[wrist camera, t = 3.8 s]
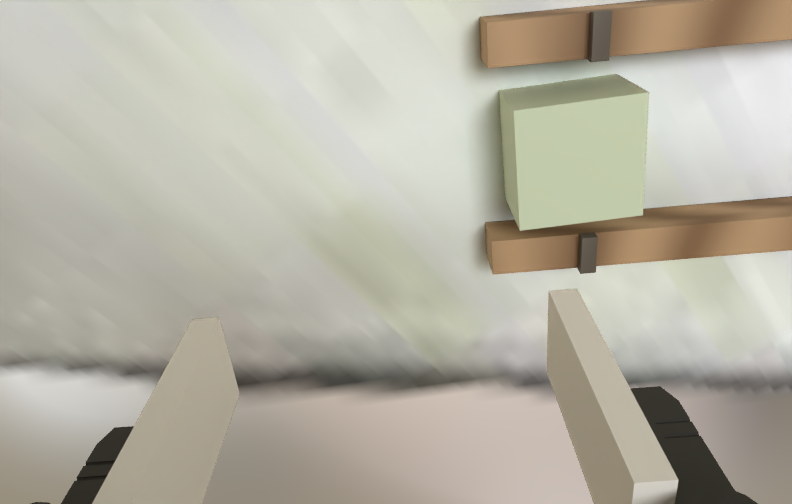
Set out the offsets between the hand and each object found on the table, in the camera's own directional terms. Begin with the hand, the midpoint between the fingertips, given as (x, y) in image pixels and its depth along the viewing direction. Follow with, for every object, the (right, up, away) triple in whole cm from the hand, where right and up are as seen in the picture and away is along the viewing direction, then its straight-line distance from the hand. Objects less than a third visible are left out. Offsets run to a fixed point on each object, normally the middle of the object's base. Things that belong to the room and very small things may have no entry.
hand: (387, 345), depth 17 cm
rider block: (+9, +9, +15) cm, 20 cm away
